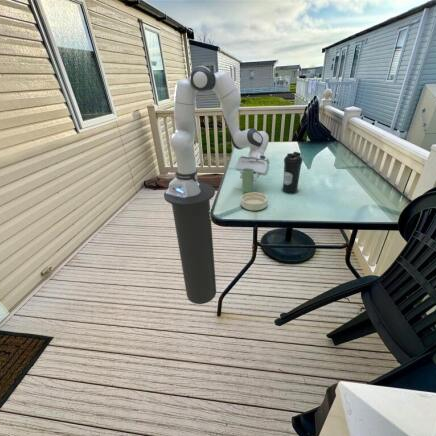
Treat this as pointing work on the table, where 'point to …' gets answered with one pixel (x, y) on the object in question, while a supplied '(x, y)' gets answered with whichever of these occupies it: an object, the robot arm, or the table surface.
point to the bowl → (254, 201)
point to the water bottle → (291, 172)
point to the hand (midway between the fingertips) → (247, 179)
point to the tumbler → (247, 179)
